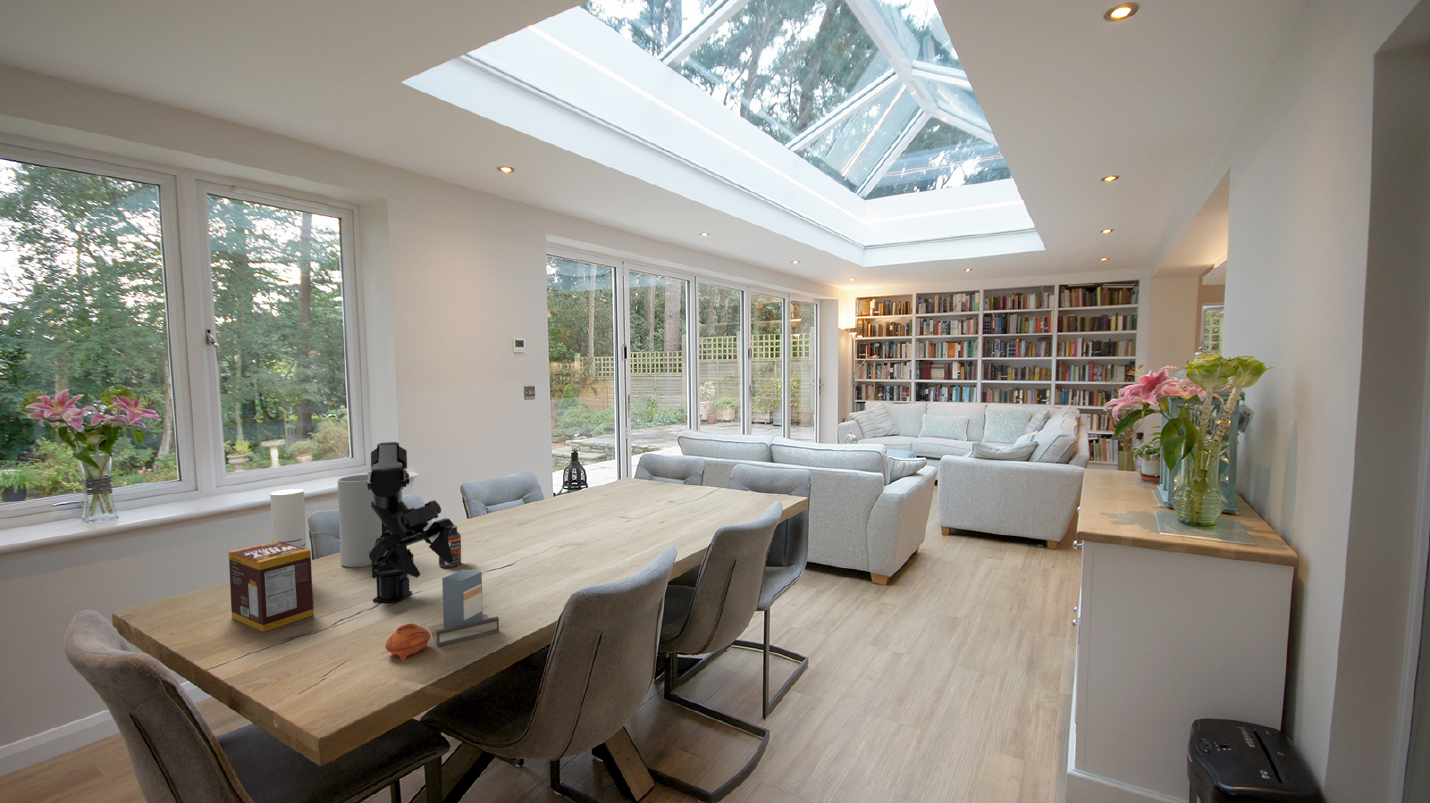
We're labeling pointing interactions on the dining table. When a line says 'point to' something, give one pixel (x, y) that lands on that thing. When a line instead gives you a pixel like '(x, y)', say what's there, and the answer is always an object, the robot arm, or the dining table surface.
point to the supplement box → (271, 585)
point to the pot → (407, 640)
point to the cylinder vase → (356, 521)
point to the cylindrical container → (288, 517)
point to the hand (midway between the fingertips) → (435, 569)
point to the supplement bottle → (453, 549)
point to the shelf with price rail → (464, 631)
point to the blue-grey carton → (462, 598)
